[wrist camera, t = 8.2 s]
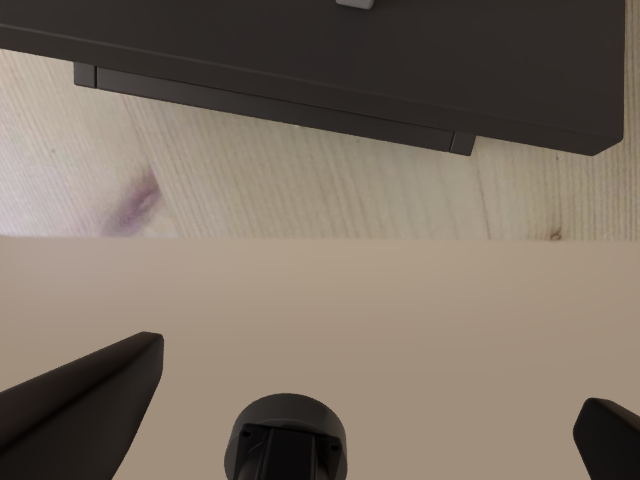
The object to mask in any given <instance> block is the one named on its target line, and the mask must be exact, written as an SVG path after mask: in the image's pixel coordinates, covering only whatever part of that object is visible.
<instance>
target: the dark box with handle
mask: <svg viewBox="0 0 640 480" xmlns="http://www.w3.org/2000/svg"><path fill="white" fill-rule="evenodd" d="M74 84H75V85H77V86H83V87H88V88H94V89H100V90H105V91H111V92H116V93H122V94H127V95H133V96H138V97H144V98H150V99H155V100H161V101H166V102H172V103H177V104H183V105H188V106H194V107H199V108H205V109H210V110H216V111H222V112H227V113H233V114H238V115H244V116H249V117H255V118H260V119H266V120H271V121H277V122H282V123H288V124H293V125H299V126H305V127H310V128H316V129H321V130H327V131H332V132H338V133H343V134H349V135H354V136H360V137H365V138H371V139H376V140H382V141H388V142H393V143H399V144H404V145H410V146H415V147H421V148H426V149H432V150H437V151H443V152H449V153H454V154H459V155H465V156H470V155H471V152H472V149H473V145H474V142H475V138H476V135H472V134H467V133H461V132H456V131H450V130H445V129H439V128H434V127H428V126H423V125H418V124H412V123H407V122H401V121H396V120H390V119H385V118H379V117H374V116H368V115H363V114H357V113H352V112H346V111H341V110H335V109H330V108H324V107H319V106H313V105H308V104H302V103H297V102H291V101H286V100H280V99H275V98H270V97H264V96H259V95H253V94H248V93H242V92H237V91H231V90H226V89H220V88H215V87H209V86H204V85H198V84H193V83H187V82H182V81H176V80H171V79H165V78H160V77H154V76H149V75H143V74H138V73H133V72H127V71H122V70H116V69H111V68H105V67H100V66H94V65H89V64H83V63H78V62H74Z"/></svg>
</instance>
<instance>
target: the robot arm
mask: <svg viewBox="0 0 640 480" xmlns="http://www.w3.org/2000/svg"><path fill="white" fill-rule="evenodd" d="M163 351H164V339H163V336H162V335H161V334H157V333H151V332H140V333H138V334H135V335H133V336H131V337H128V338H126V339H124V340H121V341H119V342H117V343H114V344H112V345H110V346H107V347H105V348H103V349H100V350H98V351H96V352H93V353H91V354H89V355H87V356H84V357H82V358H79V359H77V360H75V361H72V362H70V363H68V364H65V365H63V366H61V367H58V368H56V369H54V370H51V371H49V372H47V373H44V374H42V375H40V376H37V377H35V378H33V379H30V380H28V381H26V382H23V383H21V384H19V385H16V386H14V387H12V388H9V389H7V390H4V391H3V392H0V480H112V478H113V476H114V475H115V473H116V471H117V469H118V468H119V466H120V464H121V463H122V461H123V459H124V457H125V455H126V454H127V452H128V450H129V448H130V446H131V444H132V442H133V439H134V437H135V435H136V433H137V431H138V428H139V426H140V424H141V421H142V419H143V417H144V415H145V413H146V410H147V408H148V406H149V404H150V401H151V399H152V397H153V395H154V392H155V390H156V388H157V386H158V383H159V381H160V379H161V375H162V371H163ZM246 431H250V432H246ZM573 437H574V441H575V443H576V446H577V448H578V450H579V453H580V455H581V457H582V460H583V462H584V464H585V466H586V469H587V471H588V473H589V475H590V478H591V480H640V417H639V416H638V415H636V414H634V413H632V412H631V411H629V410H627V409H625V408H624V407H622V406H620V405H618V404H616V403H615V402H613V401H610V400H606V399H599V398H588V399H587V400H586V401H585V403H584V405H583V407H582V409H581V411H580V414H579V416H578V418H577V420H576V423H575V425H574V428H573ZM333 445H336V446H333ZM341 453H342V440H341V439H340V438H339V437H336V436H330V435H323V434H317V433H311V432H304V431H298V430H292V429H285V428H279V427H272V426H266V425H260V424H253V423H245V424H243V425H242V426H241V429H240V432H239V439H238V447H237V454H236V461H235V469H234V476H233V480H335V478H336V473H337V469H338V465H339V461H340V457H341Z"/></svg>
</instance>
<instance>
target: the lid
mask: <svg viewBox="0 0 640 480" xmlns="http://www.w3.org/2000/svg"><path fill="white" fill-rule="evenodd" d="M0 48H1V49H6V50H12V51H17V52H23V53H28V54H34V55H39V56H45V57H50V58H56V59H61V60H67V61H72V62H78V63H83V64H89V65H94V66H100V67H105V68H111V69H116V70H122V71H127V72H133V73H138V74H143V75H149V76H154V77H160V78H165V79H171V80H176V81H182V82H187V83H193V84H198V85H204V86H209V87H215V88H220V89H226V90H231V91H237V92H242V93H248V94H253V95H259V96H264V97H270V98H275V99H280V100H286V101H291V102H297V103H302V104H308V105H313V106H319V107H324V108H330V109H335V110H341V111H346V112H352V113H357V114H363V115H368V116H374V117H379V118H385V119H390V120H396V121H401V122H407V123H412V124H418V125H423V126H428V127H434V128H439V129H445V130H450V131H456V132H461V133H467V134H472V135H478V136H483V137H489V138H494V139H500V140H505V141H511V142H516V143H522V144H527V145H533V146H538V147H544V148H549V149H555V150H560V151H565V152H571V153H576V154H582V155H587V156H595V155H596V154H598V153H600V152H602V151H604V150H606V149H608V148H610V147H611V146H613V145H615V144H617V143H619V142H621V141H622V140H623V132H624V52H625V0H0Z"/></svg>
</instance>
